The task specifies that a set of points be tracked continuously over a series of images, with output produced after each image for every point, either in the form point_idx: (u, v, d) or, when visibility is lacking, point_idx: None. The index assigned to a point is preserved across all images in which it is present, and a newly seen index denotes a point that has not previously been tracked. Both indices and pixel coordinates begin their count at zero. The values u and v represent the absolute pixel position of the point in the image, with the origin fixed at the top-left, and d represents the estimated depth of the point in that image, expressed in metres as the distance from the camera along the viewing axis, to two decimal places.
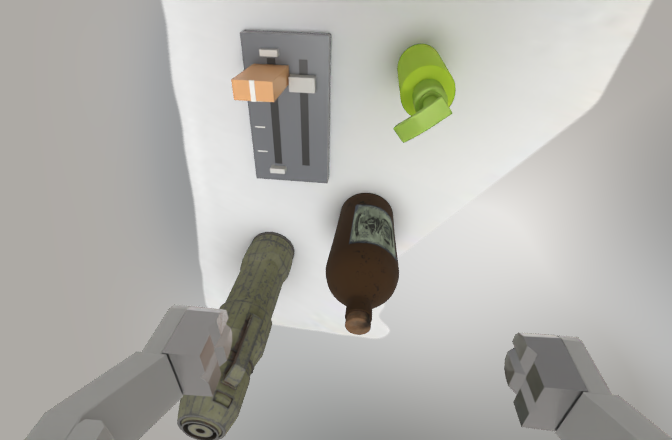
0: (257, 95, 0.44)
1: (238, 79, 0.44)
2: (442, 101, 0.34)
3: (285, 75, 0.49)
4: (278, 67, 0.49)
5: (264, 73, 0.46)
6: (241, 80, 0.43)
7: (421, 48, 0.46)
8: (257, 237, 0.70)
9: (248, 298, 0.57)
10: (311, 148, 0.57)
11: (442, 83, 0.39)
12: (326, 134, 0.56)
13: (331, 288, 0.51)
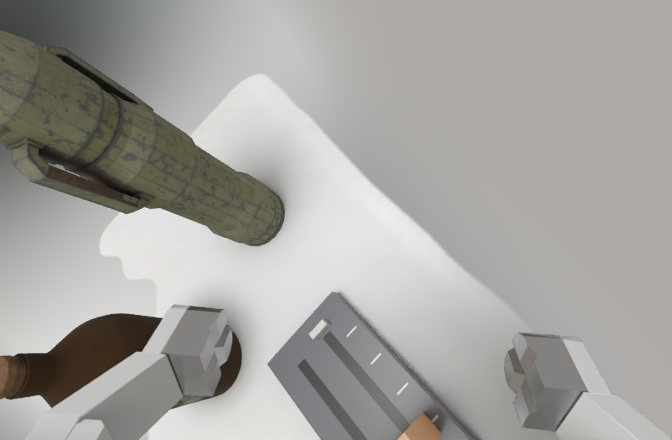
0: None
1: None
2: None
3: None
4: None
5: None
6: None
7: None
8: (280, 216, 0.51)
9: (182, 198, 0.37)
10: (311, 388, 0.42)
11: None
12: (311, 422, 0.41)
13: (105, 333, 0.34)
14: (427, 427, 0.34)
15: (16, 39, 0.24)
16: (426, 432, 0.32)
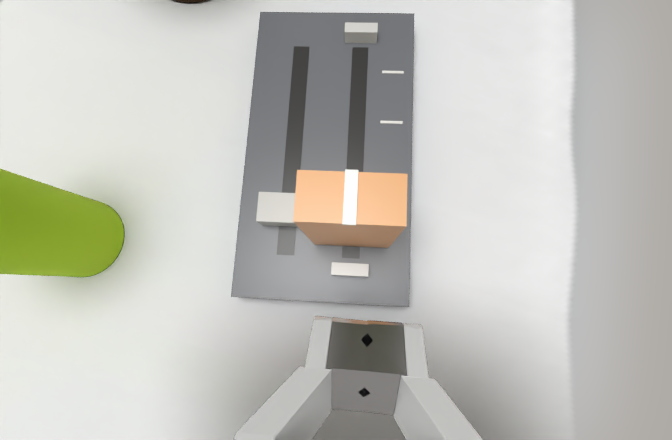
0: (338, 186, 0.16)
1: (388, 226, 0.16)
2: None
3: None
4: (328, 242, 0.23)
5: (340, 235, 0.20)
6: (378, 224, 0.16)
7: (49, 275, 0.24)
8: None
9: None
10: (287, 82, 0.28)
11: None
12: (252, 112, 0.27)
13: None
14: None
15: None
16: None
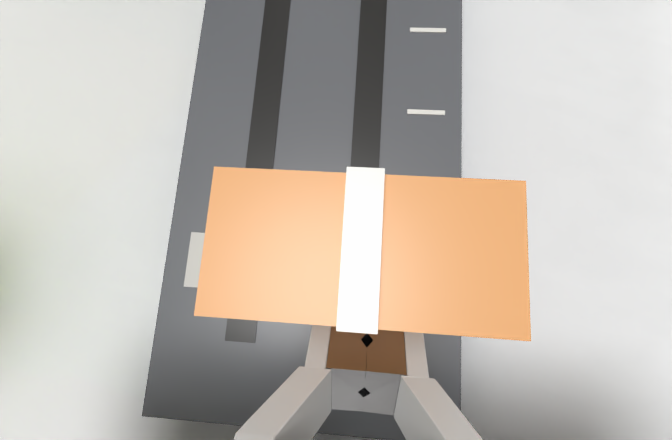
0: (326, 213, 0.06)
1: None
2: None
3: None
4: None
5: None
6: (443, 329, 0.05)
7: None
8: None
9: None
10: (253, 46, 0.17)
11: None
12: (195, 94, 0.17)
13: None
14: None
15: None
16: None
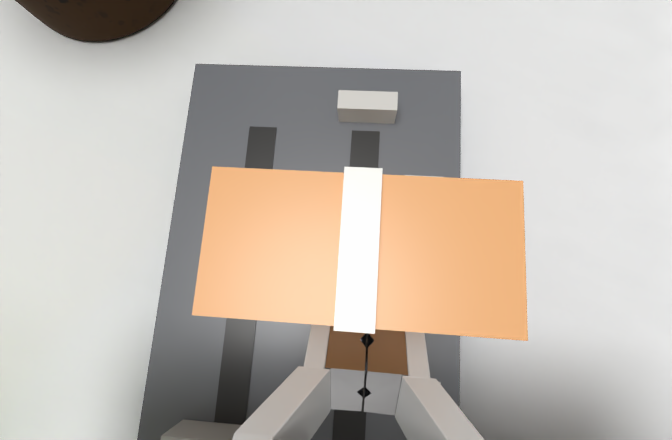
0: (324, 213, 0.06)
1: None
2: None
3: None
4: None
5: None
6: (441, 328, 0.05)
7: None
8: None
9: None
10: None
11: None
12: (171, 246, 0.15)
13: None
14: None
15: None
16: None
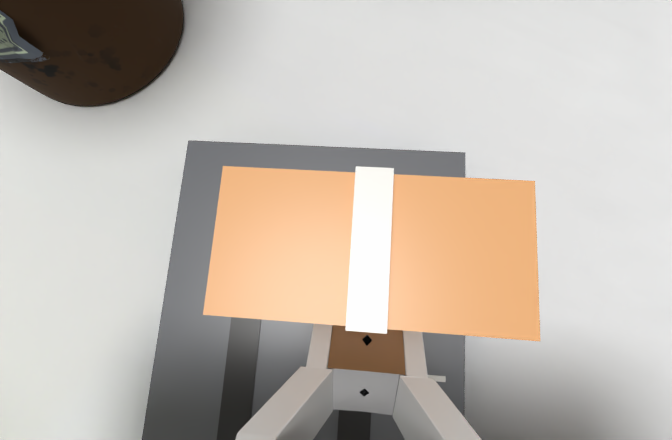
0: (335, 213, 0.06)
1: None
2: None
3: None
4: None
5: None
6: (452, 328, 0.05)
7: None
8: None
9: None
10: None
11: None
12: (162, 340, 0.15)
13: None
14: None
15: None
16: None
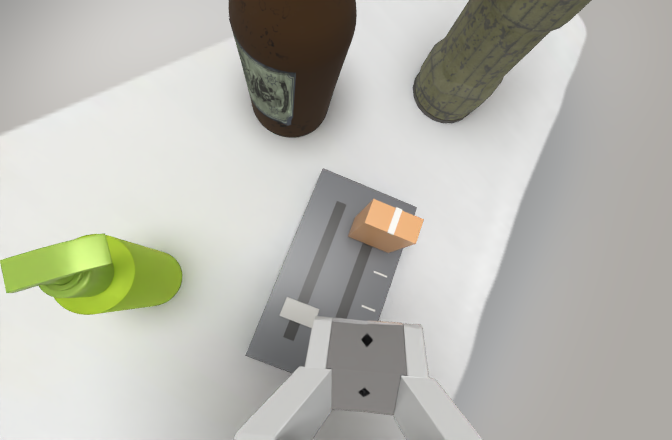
0: (390, 213, 0.33)
1: (406, 240, 0.33)
2: (8, 285, 0.20)
3: (353, 226, 0.39)
4: (359, 238, 0.40)
5: (374, 236, 0.36)
6: (403, 238, 0.33)
7: None
8: (457, 119, 0.47)
9: (505, 25, 0.32)
10: (325, 223, 0.41)
11: None
12: (296, 235, 0.41)
13: None
14: None
15: None
16: None
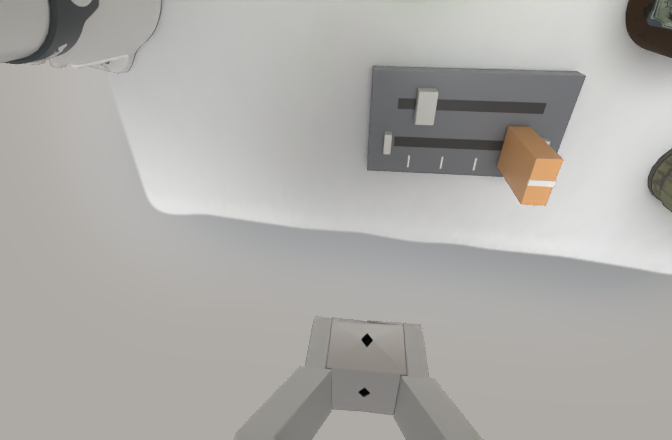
0: (548, 177, 0.35)
1: (522, 196, 0.36)
2: None
3: (522, 132, 0.39)
4: (509, 139, 0.41)
5: (517, 161, 0.38)
6: (524, 193, 0.36)
7: None
8: (653, 191, 0.45)
9: None
10: (519, 99, 0.40)
11: None
12: (501, 75, 0.39)
13: None
14: None
15: None
16: None
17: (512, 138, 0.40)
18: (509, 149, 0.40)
